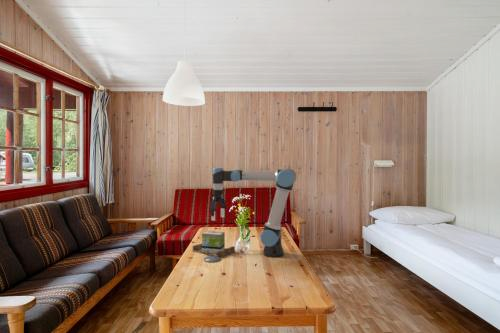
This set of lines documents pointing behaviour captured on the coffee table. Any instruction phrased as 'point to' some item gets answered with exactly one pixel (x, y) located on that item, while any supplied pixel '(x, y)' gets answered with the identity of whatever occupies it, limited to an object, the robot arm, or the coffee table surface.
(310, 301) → the coffee table surface
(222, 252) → the caddy
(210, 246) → the tea box
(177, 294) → the coffee table surface
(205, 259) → the trivet
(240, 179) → the robot arm
